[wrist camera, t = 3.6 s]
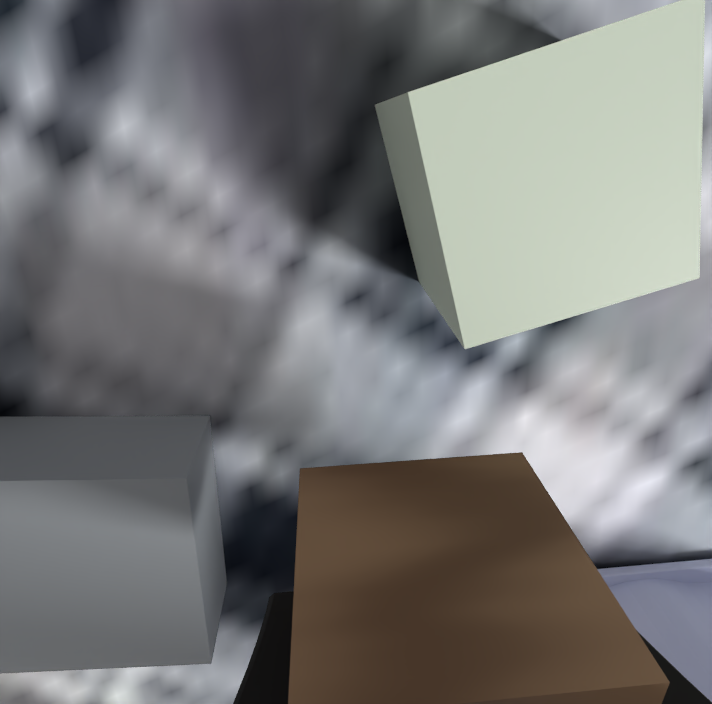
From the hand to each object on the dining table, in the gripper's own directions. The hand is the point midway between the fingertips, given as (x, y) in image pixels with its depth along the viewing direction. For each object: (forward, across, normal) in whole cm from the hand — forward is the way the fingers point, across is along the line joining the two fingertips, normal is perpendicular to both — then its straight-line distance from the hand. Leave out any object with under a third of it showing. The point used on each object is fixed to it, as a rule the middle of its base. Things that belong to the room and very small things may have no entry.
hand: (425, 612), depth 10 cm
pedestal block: (+8, +10, +3) cm, 13 cm away
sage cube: (+7, -3, -8) cm, 11 cm away
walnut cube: (+2, 0, 0) cm, 2 cm away
